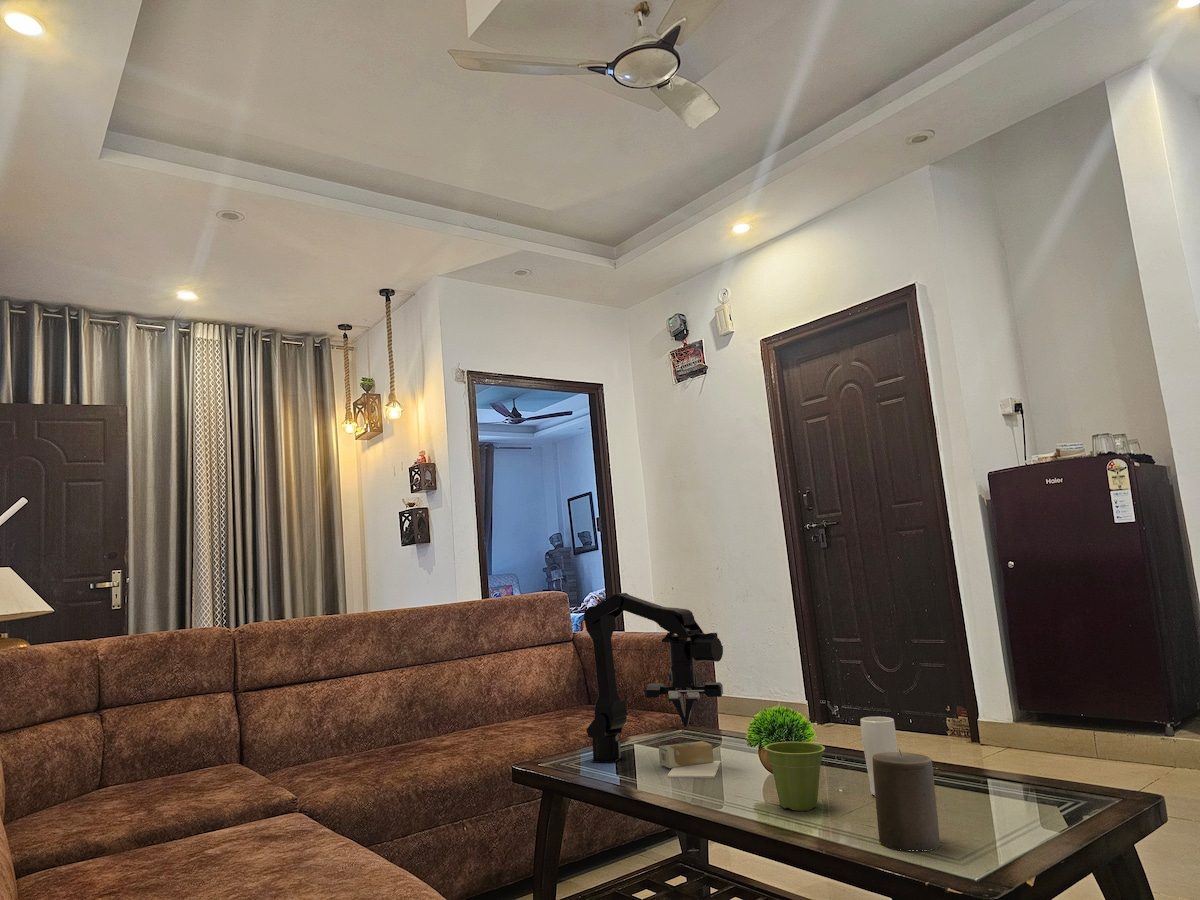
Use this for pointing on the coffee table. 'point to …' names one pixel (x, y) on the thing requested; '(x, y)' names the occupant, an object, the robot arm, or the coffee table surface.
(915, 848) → the pillar candle
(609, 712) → the robot arm
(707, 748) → the skincare box
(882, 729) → the drinking glass
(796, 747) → the plant pot
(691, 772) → the mat
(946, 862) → the coffee table surface
